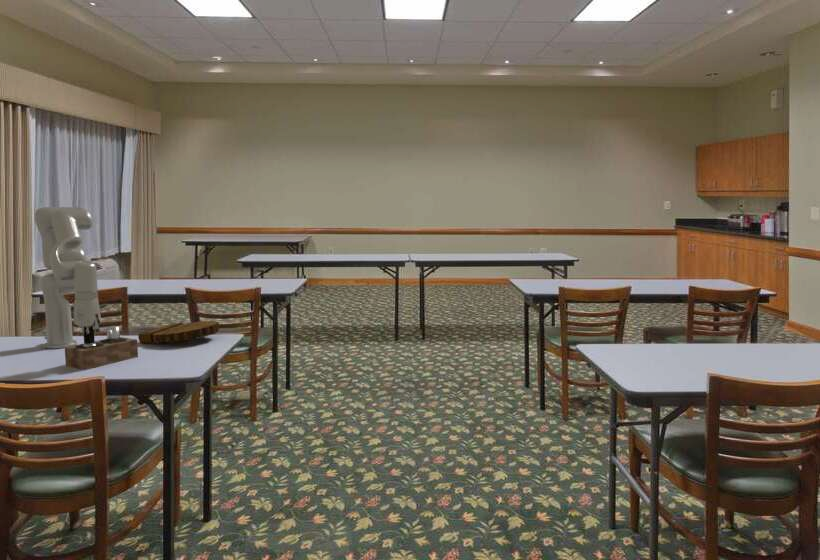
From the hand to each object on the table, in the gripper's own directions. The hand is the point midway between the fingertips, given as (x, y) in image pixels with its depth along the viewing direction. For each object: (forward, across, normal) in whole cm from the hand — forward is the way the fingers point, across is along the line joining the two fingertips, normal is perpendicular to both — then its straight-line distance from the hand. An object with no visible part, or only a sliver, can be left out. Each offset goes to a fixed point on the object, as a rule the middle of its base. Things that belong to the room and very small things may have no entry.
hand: (89, 343), depth 222 cm
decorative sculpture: (+9, -2, +47) cm, 48 cm away
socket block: (+8, 0, +5) cm, 9 cm away
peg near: (+8, 0, 0) cm, 8 cm away
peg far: (+3, 0, +10) cm, 10 cm away
